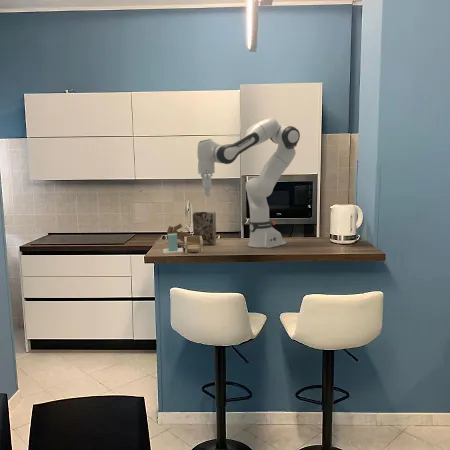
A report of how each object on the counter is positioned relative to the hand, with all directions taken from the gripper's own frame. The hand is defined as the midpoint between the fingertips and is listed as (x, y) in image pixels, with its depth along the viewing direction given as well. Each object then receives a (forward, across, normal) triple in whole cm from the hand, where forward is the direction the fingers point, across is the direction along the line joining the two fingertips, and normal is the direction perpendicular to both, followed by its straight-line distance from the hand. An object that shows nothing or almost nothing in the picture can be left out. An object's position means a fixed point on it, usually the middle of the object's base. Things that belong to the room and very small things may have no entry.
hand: (207, 195), depth 258 cm
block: (+30, +8, +20) cm, 37 cm away
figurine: (+31, +34, +17) cm, 49 cm away
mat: (+31, +8, +20) cm, 38 cm away
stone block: (+31, +25, +2) cm, 40 cm away
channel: (+31, +7, +9) cm, 33 cm away
